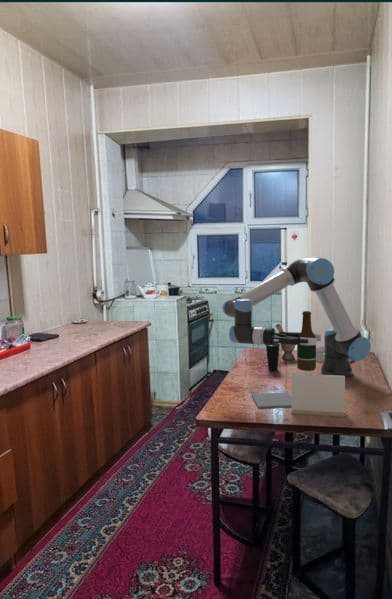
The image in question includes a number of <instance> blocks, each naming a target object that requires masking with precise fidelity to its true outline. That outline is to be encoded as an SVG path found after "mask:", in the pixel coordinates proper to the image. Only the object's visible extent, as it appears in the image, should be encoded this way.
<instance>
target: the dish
mask: <svg viewBox="0 0 392 599" xmlns="http://www.w3.org/2000/svg"><path fill="white" fill-rule="evenodd" d="M324 358H325V346H320V347H319V346H318V347H316V362H318V363H323V361H324ZM352 361H353V360H351V359H349V362H350V363H351V362H352Z"/></svg>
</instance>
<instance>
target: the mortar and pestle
mask: <svg viewBox="0 0 392 599" xmlns="http://www.w3.org/2000/svg"><path fill="white" fill-rule="evenodd" d="M275 328H276V329H277V331H278V333H279V332H285V331H284V329H283V327H282V325H281V324H280V323H278V324H275ZM295 347H296V345H292V344H282V343H280V348H281V350H282V351H283V354H282V355H281V359H282V360H287V361H290V360H292V361H293V360H295V358H296V357H295V355H294V354H293V351H294V350H295Z"/></svg>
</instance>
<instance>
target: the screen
mask: <svg viewBox="0 0 392 599" xmlns="http://www.w3.org/2000/svg"><path fill="white" fill-rule="evenodd" d="M291 397H292V407H291V414H292V415H304V416H306V415H308V416H309V415H310V416H321V417H322V416H323V417H324V416H325V417H326V416H327V417H338V418H340V417H341V418H345V417H346V377H345V376H341V375H323V374H314V373H313V374H308V373H291Z"/></svg>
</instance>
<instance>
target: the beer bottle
mask: <svg viewBox="0 0 392 599" xmlns="http://www.w3.org/2000/svg"><path fill="white" fill-rule="evenodd" d="M311 315H312V312H311V311H308V310H307V311H305V310H303V311H302V322H301V323H302V324H301V331H300V332H299V333H300V334H299V336H298V338H300V337H305V338H316V337H315V335H314V334H315V333H314V332H313V330H312V318H311V317H312V316H311ZM316 348H317V345H306V344H300V346H297V345H296V366H297V370H300V371H302V372H303V371H304V372H306V371H307V372H311V371H315V370H316V367H317V361H316Z"/></svg>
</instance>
